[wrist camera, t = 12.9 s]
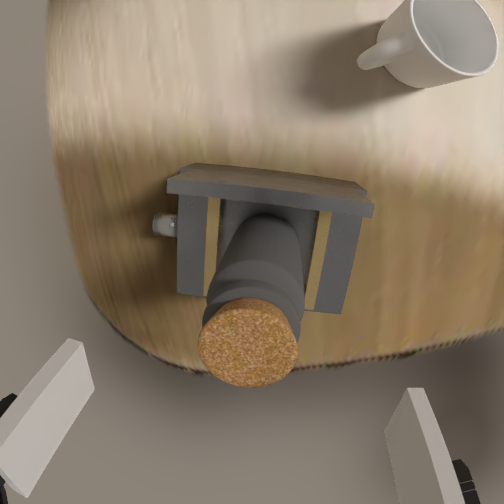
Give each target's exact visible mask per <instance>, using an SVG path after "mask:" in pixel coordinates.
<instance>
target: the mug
mask: <svg viewBox="0 0 504 504" xmlns="http://www.w3.org/2000/svg"><path fill="white" fill-rule="evenodd" d="M497 56H498V38H497V34H496V31H495V28H494V25H493V23H492V21H491V19H490V17H489V16H488V14H487V13H486V11H485V10H484V8H483V7H482V6H481V5H480V4H479V3H478V2H477V1H476V0H405V1H404V2H403V3H402V4H401V5H400V6H399V7H398V8H397V9H396V10H395V11H394V12H393V13H392V14H391V15H390V16H389V18H388V19H387V20H386V21H385V22H384V23H383V24H382V26H381V28H380V30H379V32H378V35H377V44H375V45H374V46H372V47H370V48H369V49H367V50H366V51H364V52H363V53H361V54H360V55H359V57H358V58H357V65H358V66H359V68H361V69H363V70H369V69H373V68H377V67H380V66H383V65H384V66H385V68H386V69H387V70H388V71H389V73H390V74H391V75H393V76H394V77H395V78H396V79H397V80H399V81H400V82H402V83H404V84H406V85H408V86H411V87H416V88H430V87H435V86H439V85H443V84H447V83H451V82H455V81H459V80H463V79H468V78H472V77H477V76H481V75H483V74H485V73H487V72H488V71H489V70H490V69H491V68H492V67H493V66H494V64H495V62H496V59H497Z"/></svg>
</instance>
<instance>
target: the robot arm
mask: <svg viewBox="0 0 504 504" xmlns="http://www.w3.org/2000/svg"><path fill="white" fill-rule="evenodd" d="M94 389H95V388H94V385H93V381H92V377H91V374H90V370H89V366H88V362H87V359H86V354H85V350H84V346H83V343H82V342H79V341H76V340H72V339H67V340H66V342H65V343H64V344H63V345H62V346H61V347H60V348H59V349H58V350H57V351H56V353H55V354H54V355H53V356H52V357H51V358H50V359H49V361H48V362H47V363H46V364H45V365H44V366H43V367H42V368H41V370H40V371H39V372H38V373H37V374H36V375H35V377H34V378H33V379H32V380H31V381H30V383H29V384H28V385H27V386H26V387H25V388H24V390H23V391H22V392H21V393H20V394H19V396H17V395H15V394H13V393H12V394H10V395H8V396H7V397H5V398H3V399H2V400H1V401H0V504H8V501H7V496H6V491H5V488H4V486H3V485H4V483H5V482H6V483H7V484H8V485H9V486H10V487H11V488H12V489H13V490H15V491H17V492H18V493H20V494H21V495H23V496H25V497H26V498H28V497H29V495H30V493H31V491H32V489H33V488H34V486H35V484H36V482H37V481H38V479H39V478H40V475H41V474H42V472H43V471H44V469H45V467H46V466H47V464H48V462H49V461H50V459H51V457H52V456H53V454H54V452H55V451H56V449H57V447H58V446H59V444H60V443H61V441H62V439H63V438H64V436H65V435H66V433H67V431H68V430H69V428H70V427H71V425H72V423H73V422H74V420H75V419H76V417H77V416H78V414H79V412H80V411H81V409H82V408H83V406H84V405H85V403H86V402H87V400H88V398H89V397H90V396H91V394H92V392H93V391H94ZM384 434H385V438H386V443H387V447H388V451H389V455H390V460H391V465H392V470H393V474H394V479H395V484H396V489H397V494H398V500H399V504H480V501H479V498H478V494H477V491H475V485H474V483H473V482H472V477H471V475H470V471H469V469H468V467H467V466H466V465H465V464H464V463H463V461H462V460H461V459H459V460H454V461H451V458H450V456H449V453H448V450H447V447H446V445H445V442H444V439H443V437H442V434H441V431H440V429H439V426H438V423H437V421H436V418H435V416H434V414H433V411H432V408H431V406H430V403H429V401H428V399H427V396H426V394H425V392H424V389H423V388H407V389H406V391H405V393H404V395H403V397H402V399H401V401H400V403H399V405H398V406H397V408H396V410H395V412H394V414H393V416H392V417H391V420H390V421H389V423H388V424H387V426H386V428H385V430H384Z"/></svg>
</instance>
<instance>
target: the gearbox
mask: <svg viewBox="0 0 504 504" xmlns="http://www.w3.org/2000/svg"><path fill="white" fill-rule="evenodd" d="M167 193H171V194H179V201H178V214H177V213H168V212H156V214H155V216H154V219H153V224H152V229H153V234H154V235H155V236H164V237H172V238H177V293H181V294H187V295H193V296H200V297H206V298H207V293H208V289H209V285H210V283H211V281H212V278H213V276H214V274H215V272H216V269H217V267H218V265H219V263H220V261H221V259H222V257H223V255H224V253H225V251H226V249H227V247H228V245H229V243H230V241H231V239H232V237H233V235H234V233H235V232H236V230H237V229H238V227H239V226H240V225H241V224H242V223H243V222H244V221H245V220H247V219H248V218H250V217H253V216H256V215H261V214H269V215H274V216H277V217H280V218H282V219H283V220H285V221H286V222H287V223H289V224H290V226H291V227H292V228H293V229H294V231H295V233H296V235H297V238H298V242H299V248H300V257H301V265H302V274H303V283H304V295H305V308H304V310H305V311H314V312H324V313H333V314H341V311H342V307H343V303H344V299H345V295H346V291H347V287H348V283H349V278H350V274H351V270H352V265H353V261H354V256H355V251H356V247H357V242H358V237H359V232H360V227H361V222H362V217H368V218H372V214H373V209H374V203H373V202H372V201H370V200H369V199H368V198H367V197H366V194H367V190H365V189H364V188H363V187H361V186H360V185H358V184H357V183H355V182H351V181H345V180H338V179H332V178H325V177H319V176H312V175H304V174H297V173H289V172H281V171H273V170H265V169H256V168H246V167H236V166H226V165H214V164H202V163H194V164H191V165H188V166H185V167H182V168H180V174H178V175H175V176H173V177H170V178H168V179H167Z"/></svg>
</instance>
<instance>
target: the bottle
mask: <svg viewBox="0 0 504 504" xmlns="http://www.w3.org/2000/svg"><path fill="white" fill-rule="evenodd" d="M304 308H305V295H304V283H303V274H302V265H301V257H300V248H299V242H298V238H297V235H296V233H295V231H294V229H293V228H292V227H291V226H290V224H289V223H287V222H286V221H285V220H283V219H282V218H280V217H277V216H274V215H269V214H261V215H256V216H253V217H250V218H248V219H247V220H245V221H244V222H243V223H242V224H241V225H240V226H239V227H238V229H237V230H236V232H235V233H234V235H233V237H232V239H231V241H230V243H229V245H228V247H227V249H226V251H225V253H224V255H223V257H222V259H221V261H220V263H219V265H218V267H217V269H216V272H215V274H214V276H213V278H212V281H211V283H210V285H209V289H208V293H207V307H206V309H205V312H204V315H203V320H202V327H203V328H202V330H201V332H200V334H199V338H198V351H199V355H200V358H201V360H202V362H203V363H204V365H205V366H206V368H207V369H208V370H209V371H210V372H211V373H212V374H213V375H215V376H216V377H217V378H219V379H221V380H223V381H225V382H227V383H229V384H232V385H235V386H240V387H247V388H256V387H263V386H267V385H271V384H273V383H275V382H277V381H280V380H281V379H282V378H284V377H285V376H286V375H287V374H288V373H289V372H290V371H291V370H292V368H293V366H294V365H295V362H296V360H297V355H298V347H297V343H298V340H299V337H300V321H301V319H302V317H303V313H304Z"/></svg>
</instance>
